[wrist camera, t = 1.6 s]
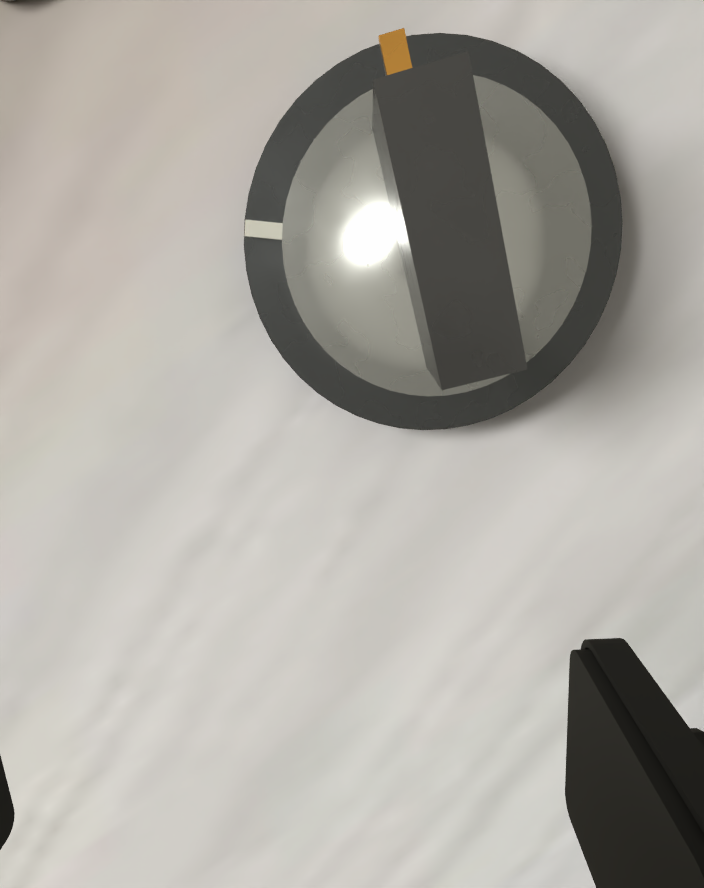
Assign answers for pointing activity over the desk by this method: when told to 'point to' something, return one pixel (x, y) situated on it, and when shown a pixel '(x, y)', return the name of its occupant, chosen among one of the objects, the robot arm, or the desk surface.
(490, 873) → the desk surface
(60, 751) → the desk surface
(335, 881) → the desk surface
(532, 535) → the desk surface
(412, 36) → the dial base
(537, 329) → the dial
